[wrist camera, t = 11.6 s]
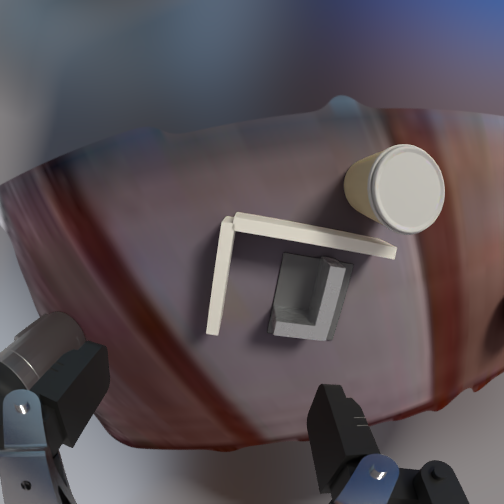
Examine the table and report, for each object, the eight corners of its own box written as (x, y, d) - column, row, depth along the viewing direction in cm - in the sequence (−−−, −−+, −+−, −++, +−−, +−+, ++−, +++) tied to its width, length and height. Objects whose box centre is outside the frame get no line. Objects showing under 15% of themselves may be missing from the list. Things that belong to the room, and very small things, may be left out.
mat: (267, 331, 42) (267, 332, 42) (283, 252, 40) (284, 252, 39) (331, 339, 43) (332, 340, 42) (353, 264, 40) (353, 264, 40)
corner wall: (212, 313, 42) (206, 333, 36) (227, 210, 38) (222, 215, 33) (352, 332, 42) (364, 352, 37) (378, 238, 39) (397, 247, 33)
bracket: (318, 324, 42) (325, 340, 37) (271, 318, 41) (273, 335, 37) (335, 258, 39) (345, 268, 35) (285, 249, 39) (289, 259, 34)
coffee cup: (403, 212, 38) (452, 224, 27) (345, 227, 39) (381, 246, 27) (390, 147, 36) (437, 138, 25) (329, 159, 37) (361, 151, 25)
